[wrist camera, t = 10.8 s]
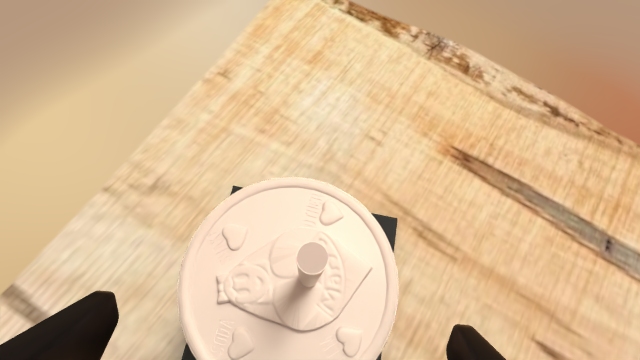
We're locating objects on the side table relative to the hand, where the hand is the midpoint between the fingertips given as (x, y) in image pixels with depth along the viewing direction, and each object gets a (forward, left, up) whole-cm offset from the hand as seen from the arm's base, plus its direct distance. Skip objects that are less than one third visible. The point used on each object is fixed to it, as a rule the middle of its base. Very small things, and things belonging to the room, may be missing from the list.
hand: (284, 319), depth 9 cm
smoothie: (+1, 0, -10) cm, 10 cm away
